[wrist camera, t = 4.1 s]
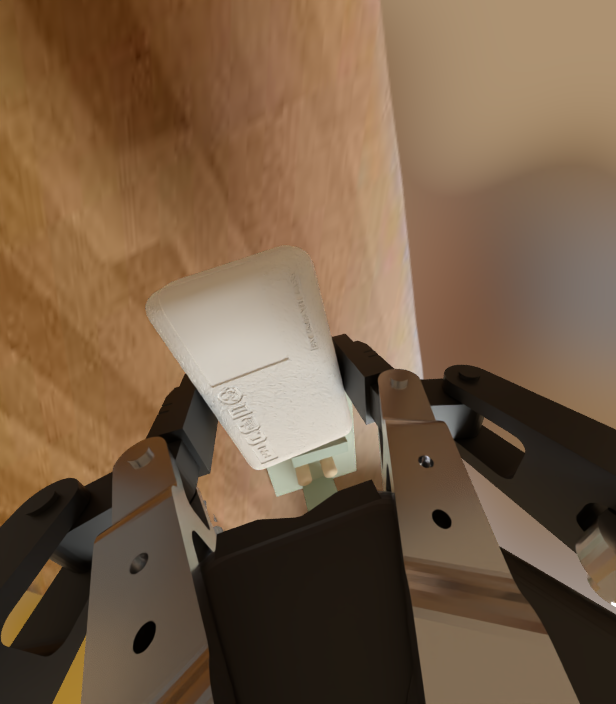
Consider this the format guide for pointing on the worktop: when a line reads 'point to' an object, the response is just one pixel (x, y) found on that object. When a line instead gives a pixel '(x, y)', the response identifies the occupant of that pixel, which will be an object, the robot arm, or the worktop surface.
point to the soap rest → (316, 469)
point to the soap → (258, 352)
